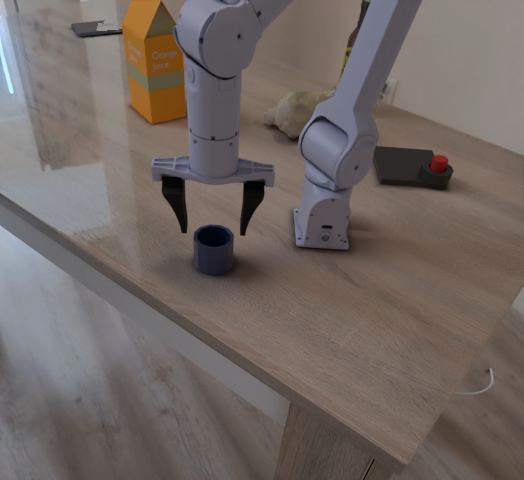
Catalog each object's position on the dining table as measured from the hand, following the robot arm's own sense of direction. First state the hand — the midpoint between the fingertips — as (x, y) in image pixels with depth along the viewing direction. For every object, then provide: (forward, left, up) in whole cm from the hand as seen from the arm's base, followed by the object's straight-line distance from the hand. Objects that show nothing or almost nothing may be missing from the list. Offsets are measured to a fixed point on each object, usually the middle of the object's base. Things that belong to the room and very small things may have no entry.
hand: (213, 230), depth 63 cm
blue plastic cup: (0, 0, -6) cm, 6 cm away
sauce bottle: (+55, -26, -6) cm, 61 cm away
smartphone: (+90, +34, -6) cm, 96 cm away
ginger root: (+43, -16, -6) cm, 46 cm away
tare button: (+26, -38, -3) cm, 46 cm away
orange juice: (+46, +14, -6) cm, 48 cm away
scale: (+30, -34, -6) cm, 46 cm away
